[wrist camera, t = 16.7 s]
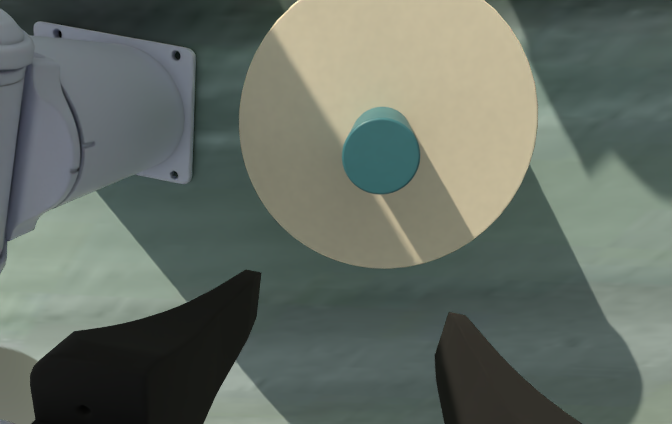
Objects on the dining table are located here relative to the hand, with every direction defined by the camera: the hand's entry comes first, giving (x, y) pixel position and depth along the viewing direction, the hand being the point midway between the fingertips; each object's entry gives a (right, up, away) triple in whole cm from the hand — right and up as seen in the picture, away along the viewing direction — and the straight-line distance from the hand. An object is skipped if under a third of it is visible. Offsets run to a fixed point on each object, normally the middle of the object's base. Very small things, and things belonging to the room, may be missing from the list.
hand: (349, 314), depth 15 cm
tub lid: (+2, +7, +2) cm, 8 cm away
